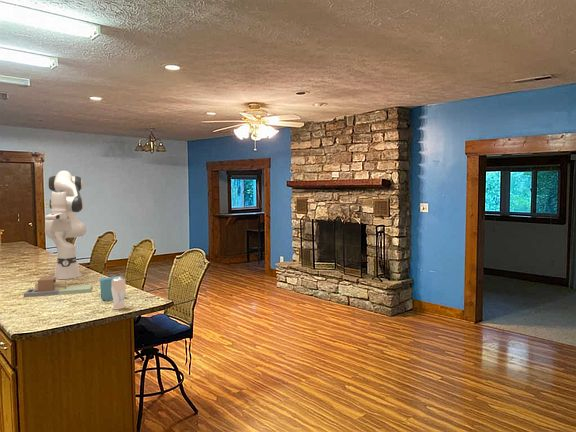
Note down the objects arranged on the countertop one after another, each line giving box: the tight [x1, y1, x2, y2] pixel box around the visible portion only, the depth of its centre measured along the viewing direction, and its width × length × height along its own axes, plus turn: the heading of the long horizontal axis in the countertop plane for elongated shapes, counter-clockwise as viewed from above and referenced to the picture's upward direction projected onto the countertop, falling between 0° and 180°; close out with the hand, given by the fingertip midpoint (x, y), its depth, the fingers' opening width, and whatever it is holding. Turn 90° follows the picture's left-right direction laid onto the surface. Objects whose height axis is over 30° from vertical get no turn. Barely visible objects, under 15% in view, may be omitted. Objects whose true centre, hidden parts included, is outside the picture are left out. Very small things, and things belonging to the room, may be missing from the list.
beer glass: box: [111, 277, 127, 310], centre depth 230 cm, size 7×7×15 cm
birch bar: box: [34, 281, 67, 291], centre depth 266 cm, size 4×16×4 cm, turn 108°
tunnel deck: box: [23, 276, 93, 298], centre depth 268 cm, size 13×35×9 cm, turn 108°
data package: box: [99, 275, 124, 302], centre depth 250 cm, size 12×4×12 cm, turn 128°
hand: (59, 239), depth 272 cm, fingers open, 8 cm apart
